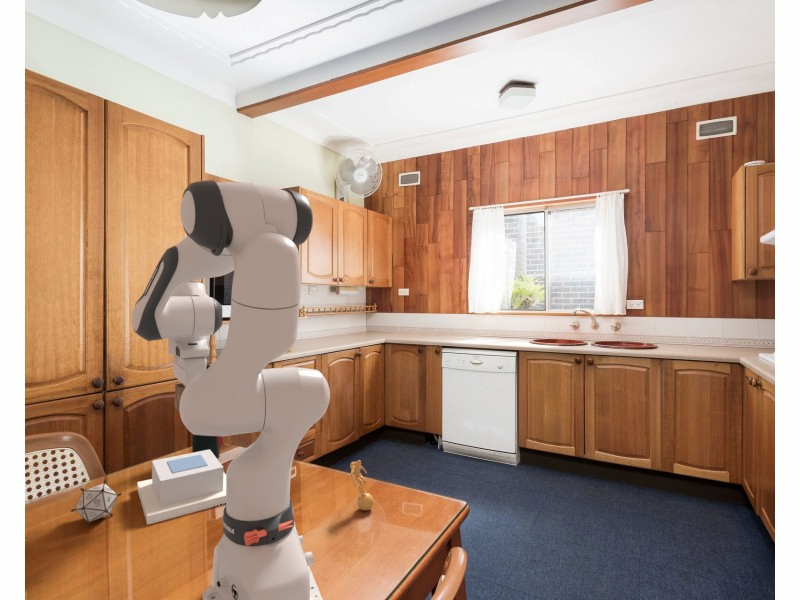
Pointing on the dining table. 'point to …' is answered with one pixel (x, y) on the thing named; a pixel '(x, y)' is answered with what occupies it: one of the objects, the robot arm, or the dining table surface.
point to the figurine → (361, 487)
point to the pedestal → (182, 486)
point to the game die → (96, 502)
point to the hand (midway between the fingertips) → (187, 400)
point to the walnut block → (178, 394)
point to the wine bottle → (207, 439)
